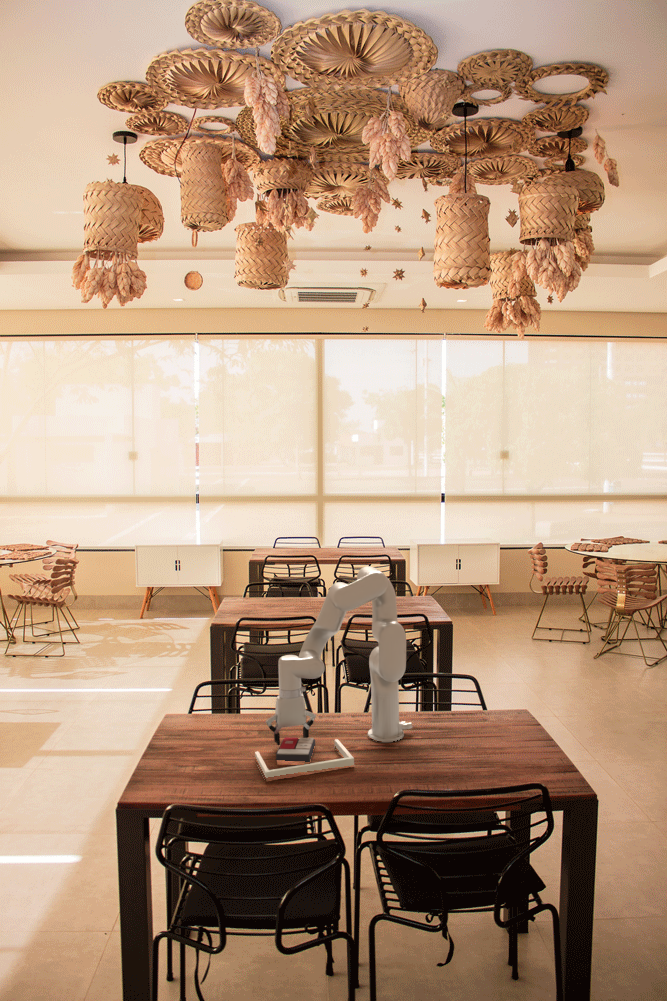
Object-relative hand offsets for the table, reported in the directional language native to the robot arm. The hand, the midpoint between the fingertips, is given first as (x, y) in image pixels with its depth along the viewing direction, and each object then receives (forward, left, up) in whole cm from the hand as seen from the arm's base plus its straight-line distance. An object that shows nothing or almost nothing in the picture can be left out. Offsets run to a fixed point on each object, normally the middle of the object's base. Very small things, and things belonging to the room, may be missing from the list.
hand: (291, 741), depth 242 cm
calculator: (0, +8, -2) cm, 8 cm away
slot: (0, +15, -2) cm, 15 cm away
